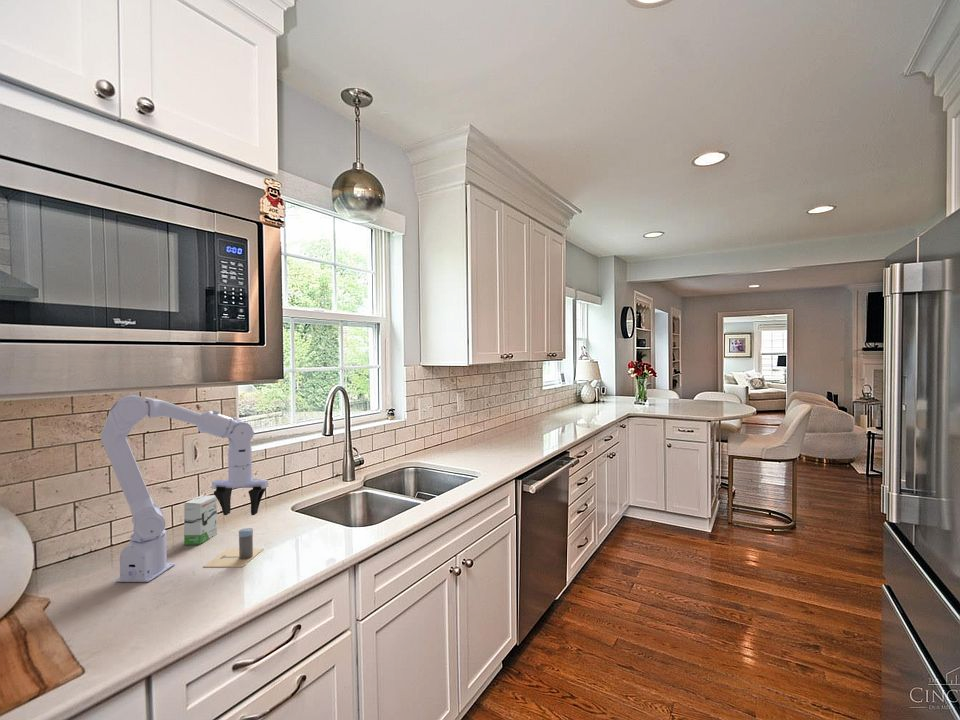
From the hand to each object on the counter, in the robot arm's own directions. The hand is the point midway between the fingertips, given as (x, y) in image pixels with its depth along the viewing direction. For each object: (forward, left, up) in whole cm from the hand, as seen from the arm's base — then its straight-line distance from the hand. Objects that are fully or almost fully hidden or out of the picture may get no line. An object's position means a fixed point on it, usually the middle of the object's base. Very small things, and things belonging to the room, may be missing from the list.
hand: (240, 514), depth 128 cm
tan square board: (-5, -1, -10) cm, 11 cm away
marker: (-5, -4, -10) cm, 12 cm away
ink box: (+8, +16, -10) cm, 21 cm away
